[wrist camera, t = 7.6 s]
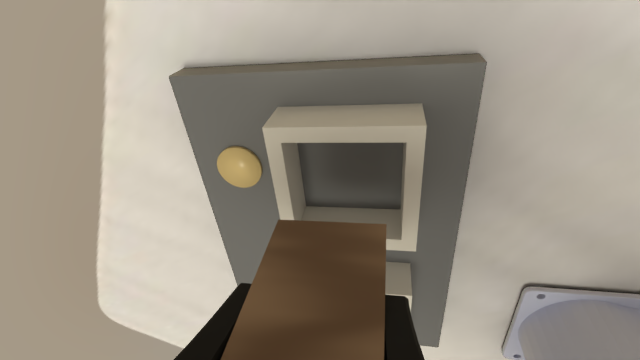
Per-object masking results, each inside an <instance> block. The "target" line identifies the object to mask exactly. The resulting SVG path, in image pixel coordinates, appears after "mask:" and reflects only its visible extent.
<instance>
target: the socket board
mask: <svg viewBox="0 0 640 360" xmlns="http://www.w3.org/2000/svg"><path fill="white" fill-rule="evenodd" d="M486 63H487V62H486V61H485V60H484V58H483V57H482V56H481V55H480V54H461V55H441V56H421V57H401V58H381V59H361V60H341V61H321V62H301V63H281V64H261V65H241V66H221V67H201V68H183V69H181V70H180V71H178V72H176V73H174V74H172V75H170V76H169V79H170V83H171V86H172V89H173V92H174V95H175V98H176V101H177V104H178V107H179V110H180V113H181V116H182V119H183V122H184V125H185V128H186V131H187V134H188V137H189V140H190V143H191V146H192V149H193V152H194V155H195V158H196V161H197V164H198V167H199V170H200V173H201V176H202V179H203V182H204V185H205V188H206V191H207V194H208V198H209V201H210V204H211V207H212V210H213V213H214V216H215V219H216V222H217V225H218V228H219V231H220V234H221V237H222V240H223V243H224V246H225V249H226V252H227V255H228V258H229V261H230V264H231V267H232V270H233V273H234V276H235V279H236V282H237V285H239V284H240V283H250V284H252V282H253V280H254V277H255V275H256V273H257V270H258V268H259V265H260V263H261V260H262V258H263V256H264V253H265V251H266V248H267V246H268V243H269V241H270V239H271V236H272V234H273V231H274V229H275V226H276V224H277V222H278V220H301V221H324V222H348V223H371V224H387V227H386V281H385V295H396V296H405V297H406V298H408V300H409V307H410V312H411V316H412V321H413V324H414V328H415V332H416V335H417V338H418V342H419V345H422V346H431V347H438V346H439V340H440V334H441V328H442V322H443V317H444V311H445V305H446V299H447V293H448V287H449V281H450V275H451V269H452V264H453V258H454V252H455V246H456V240H457V234H458V228H459V222H460V216H461V211H462V205H463V199H464V193H465V187H466V181H467V175H468V169H469V164H470V158H471V152H472V146H473V140H474V134H475V128H476V122H477V116H478V111H479V105H480V99H481V93H482V87H483V81H484V75H485V69H486Z"/></svg>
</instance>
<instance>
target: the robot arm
mask: <svg viewBox="0 0 640 360" xmlns="http://www.w3.org/2000/svg"><path fill="white" fill-rule="evenodd" d="M251 285H252V284H250V283H240V284H239V285H238V286H237V288H236V289H235V290H234V291H233V293H232V294H231V295H230V296H229V297H228V299H227V300H226V301H225V302H224V303H223V305H222V306H221V307H220V308H219V310H218V311H217V312H216V313H215V314H214V315H213V317H212V318H211V319H210V320H209V321H208V322H207V324H206V325H205V326H204V327H203V328H202V329H201V330H200V332H199V333H198V334H197V335H196V336H195V337H194V338H193V339H192V341H191V342H190V343H189V344H188V345H187V346H186V347H185V348H184V349H183V350H182V351H181V352H180V354H179V355H178V356H177V357H176V358H175V359H174V360H221V358H222V355H223V353H224V350H225V348H226V345H227V343H228V341H229V338H230V336H231V333H232V331H233V328H234V326H235V324H236V321H237V319H238V316H239V314H240V311H241V309H242V307H243V304H244V302H245V299H246V297H247V294H248V292H249V290H250V287H251ZM502 354H503V356H504V357H505V358H508V359H515V360H640V294H628V293H614V292H601V291H587V290H573V289H559V288H545V287H526V288H525V289H524V290H523V291H522V294H521V297H520V300H519V303H518V305H517V308H516V311H515V314H514V317H513V320H512V323H511V325H510V328H509V331H508V334H507V337H506V340H505V343H504V345H503V348H502ZM384 360H425V359H424V357H423V354H422V351H421V348H420V345H419V342H418V338H417V335H416V332H415V328H414V324H413V321H412V316H411V312H410V307H409V300H408V298H406V297H405V296H396V295H385V336H384Z"/></svg>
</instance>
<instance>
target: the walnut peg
mask: <svg viewBox="0 0 640 360" xmlns="http://www.w3.org/2000/svg"><path fill="white" fill-rule="evenodd" d="M386 227H387V224H371V223H348V222H324V221H301V220H278V222H277V224H276V226H275V229H274V231H273V234H272V236H271V239H270V241H269V243H268V246H267V248H266V251H265V253H264V256H263V258H262V260H261V263H260V265H259V268H258V270H257V273H256V275H255V277H254V280H253V282H252V285H251V287H250V290H249V292H248V294H247V297H246V299H245V302H244V304H243V307H242V309H241V311H240V314H239V316H238V319H237V321H236V324H235V326H234V328H233V331H232V333H231V336H230V338H229V341H228V343H227V345H226V348H225V350H224V353H223V355H222V358H221V360H384V336H385V281H386Z"/></svg>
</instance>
